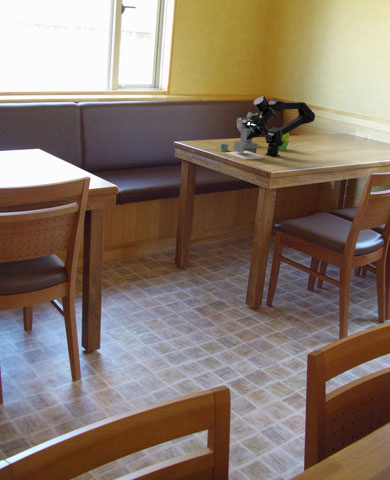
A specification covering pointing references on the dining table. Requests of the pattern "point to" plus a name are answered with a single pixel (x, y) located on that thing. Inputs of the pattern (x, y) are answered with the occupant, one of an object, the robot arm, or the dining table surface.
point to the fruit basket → (284, 142)
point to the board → (244, 155)
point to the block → (224, 147)
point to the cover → (245, 143)
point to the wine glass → (241, 125)
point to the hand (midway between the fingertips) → (244, 138)
